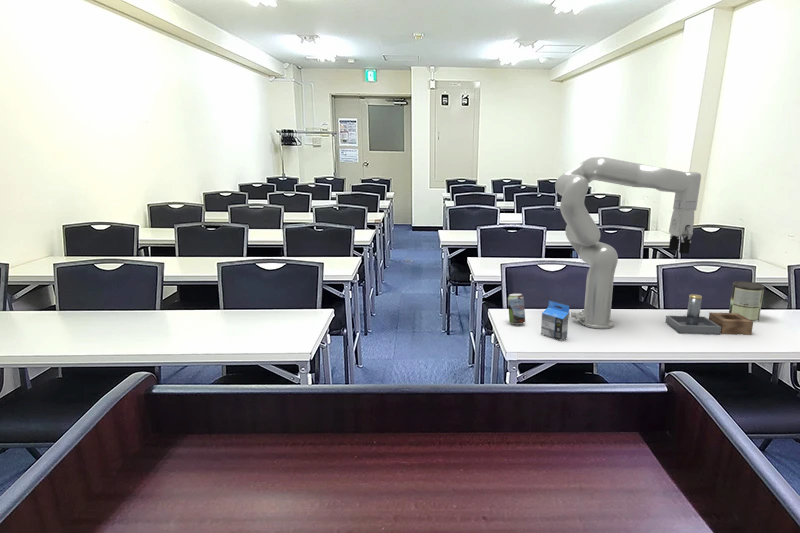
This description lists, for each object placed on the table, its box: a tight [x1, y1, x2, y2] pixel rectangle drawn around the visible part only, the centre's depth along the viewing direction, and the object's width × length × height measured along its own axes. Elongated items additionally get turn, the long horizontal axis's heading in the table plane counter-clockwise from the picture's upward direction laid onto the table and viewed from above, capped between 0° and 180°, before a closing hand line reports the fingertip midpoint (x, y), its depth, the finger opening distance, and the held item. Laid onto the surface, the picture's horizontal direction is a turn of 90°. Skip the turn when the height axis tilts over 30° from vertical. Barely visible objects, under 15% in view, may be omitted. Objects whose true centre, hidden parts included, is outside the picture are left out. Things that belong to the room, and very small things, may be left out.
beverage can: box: [507, 293, 526, 325], centre depth 185 cm, size 6×7×12 cm
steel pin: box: [686, 293, 703, 326], centre depth 178 cm, size 4×4×12 cm
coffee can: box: [728, 280, 766, 323], centre depth 189 cm, size 10×10×14 cm
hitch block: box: [708, 311, 754, 336], centre depth 177 cm, size 10×10×5 cm
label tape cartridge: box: [540, 300, 570, 342], centre depth 171 cm, size 9×4×12 cm, turn 37°
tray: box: [665, 314, 721, 336], centre depth 179 cm, size 14×12×3 cm
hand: (678, 250), depth 180 cm, fingers open, 9 cm apart
